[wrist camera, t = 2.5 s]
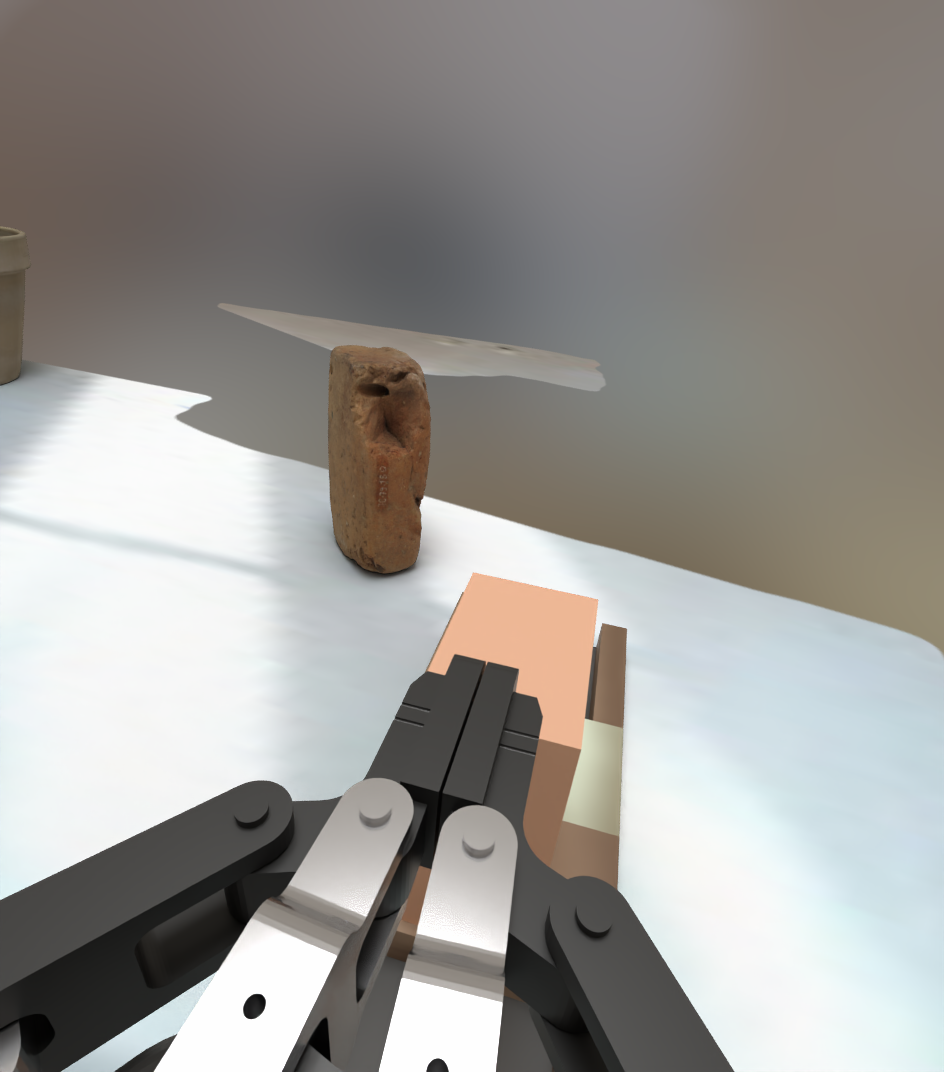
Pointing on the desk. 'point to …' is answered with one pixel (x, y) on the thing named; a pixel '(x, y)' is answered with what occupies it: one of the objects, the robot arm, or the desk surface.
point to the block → (377, 455)
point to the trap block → (528, 687)
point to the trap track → (578, 852)
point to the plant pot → (12, 300)
